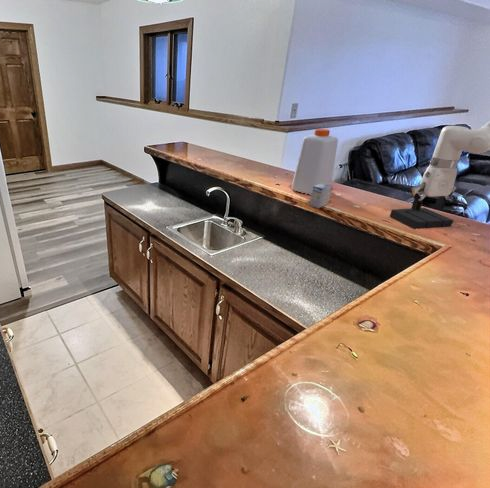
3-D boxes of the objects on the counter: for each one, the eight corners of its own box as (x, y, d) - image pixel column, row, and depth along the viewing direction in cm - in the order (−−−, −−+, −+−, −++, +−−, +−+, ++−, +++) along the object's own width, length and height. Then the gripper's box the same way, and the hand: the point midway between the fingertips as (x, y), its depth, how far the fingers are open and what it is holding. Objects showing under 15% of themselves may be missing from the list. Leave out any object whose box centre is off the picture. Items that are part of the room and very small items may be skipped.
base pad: (421, 214, 139) (424, 207, 138) (450, 227, 128) (453, 220, 127) (389, 216, 137) (391, 209, 136) (415, 229, 126) (418, 222, 124)
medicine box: (318, 201, 152) (322, 182, 148) (328, 204, 149) (332, 185, 145) (308, 205, 148) (313, 185, 144) (318, 208, 144) (323, 188, 141)
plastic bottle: (333, 191, 166) (347, 130, 153) (317, 198, 157) (331, 133, 144) (303, 184, 176) (314, 126, 163) (287, 190, 167) (298, 129, 154)
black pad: (418, 217, 136) (420, 210, 135) (440, 228, 127) (443, 220, 126) (404, 218, 135) (407, 211, 134) (425, 229, 127) (428, 221, 125)
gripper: (430, 166, 117) (414, 214, 124) (474, 165, 119) (455, 211, 127) (413, 161, 123) (398, 207, 131) (455, 160, 126) (438, 204, 134)
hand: (426, 209), depth 129 cm, fingers open, 9 cm apart
